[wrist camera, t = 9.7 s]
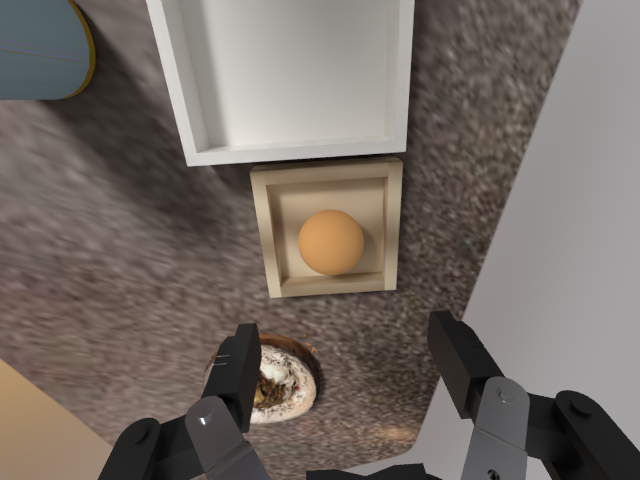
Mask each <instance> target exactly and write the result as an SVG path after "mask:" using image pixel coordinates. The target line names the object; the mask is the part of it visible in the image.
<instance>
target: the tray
mask: <svg viewBox="0 0 640 480" xmlns="http://www.w3.org/2000/svg"><path fill="white" fill-rule="evenodd" d="M402 171H403V161H401V160H400V159H398V158H397V157H396V156H389V157H375V158H360V159H345V160H330V161H315V162H301V163H286V164H271V165H256V166H254V168H253V169H252V170H251V171H250V177H251V183H252V189H253V195H254V202H255V208H256V214H257V220H258V226H259V232H260V239H261V245H262V251H263V257H264V263H265V269H266V276H267V282H268V288H269V294H270V298H275V297H290V296H306V295H321V294H336V293H352V292H367V291H382V290H396V279H397V261H398V243H399V225H400V207H401V189H402ZM324 210H338V211H342V212H344V213H346V214H348V215H350V216H351V217H352V218H353V219H354V220H355V221H356V222H357V223H358V225H359V226H360V228H361V230H362V233H363V238H364V247H363V252H362V255H361V257H360V259H359V261H358V262H357V263H356V264H355V265H354V266H353V267H352V268H351V269H350V270H348V271H346V272H344V273H342V274H338V275H323V274H320V273H318V272H316V271H314V270H312V269H311V268H310V267H308V265H307V264H306V263H305V262H304V260H303V259H302V257H301V255H300V252H299V247H298V238H299V233H300V230H301V228H302V226H303V225H304V223H305V222H306V221H307V220H308V219H309V218H310V217H311V216H312V215H314V214H316V213H318V212H320V211H324Z"/></svg>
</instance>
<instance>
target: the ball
mask: <svg viewBox="0 0 640 480" xmlns="http://www.w3.org/2000/svg"><path fill="white" fill-rule="evenodd" d="M298 247H299V252H300V255H301V257H302V259H303V260H304V262H305V263H306V264H307V265H308V267H310V268H311V269H312V270H314V271H316V272H318V273H320V274H323V275H338V274H342V273H344V272H346V271H348V270H350V269H351V268H352V267H353V266H354V265H355V264H356V263H357V262H358V261H359V259H360V257H361V255H362V252H363V247H364V238H363V233H362V230H361V228H360V226H359V225H358V223H357V222H356V221H355V220H354V219H353V218H352V217H351V216H350V215H348V214H346V213H344V212H342V211H338V210H324V211H320V212H318V213H316V214H314V215H312V216H311V217H310V218H309V219H308V220H307V221H306V222H305V223H304V225H303V226H302V228H301V230H300V233H299V238H298Z"/></svg>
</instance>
